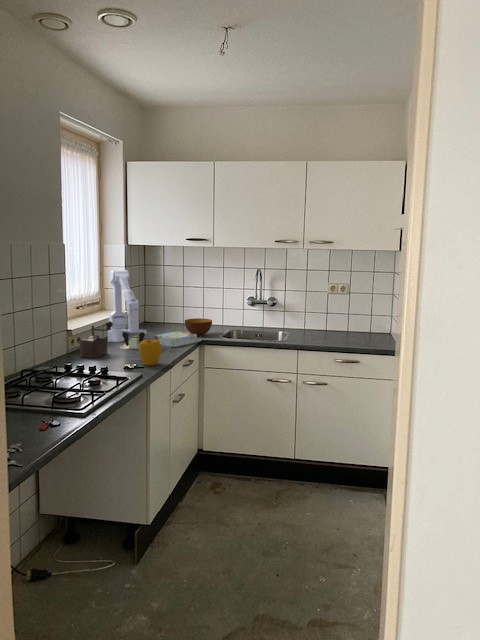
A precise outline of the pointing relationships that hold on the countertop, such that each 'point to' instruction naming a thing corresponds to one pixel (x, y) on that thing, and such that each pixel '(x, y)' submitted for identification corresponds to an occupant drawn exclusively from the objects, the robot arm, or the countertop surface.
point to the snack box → (176, 338)
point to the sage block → (134, 343)
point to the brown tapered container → (94, 344)
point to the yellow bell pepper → (150, 352)
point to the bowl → (198, 326)
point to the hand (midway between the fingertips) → (134, 345)
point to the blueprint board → (127, 347)
